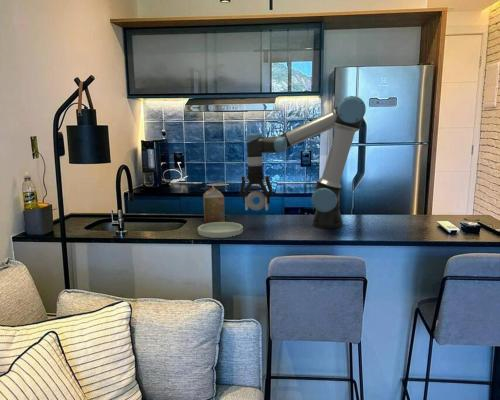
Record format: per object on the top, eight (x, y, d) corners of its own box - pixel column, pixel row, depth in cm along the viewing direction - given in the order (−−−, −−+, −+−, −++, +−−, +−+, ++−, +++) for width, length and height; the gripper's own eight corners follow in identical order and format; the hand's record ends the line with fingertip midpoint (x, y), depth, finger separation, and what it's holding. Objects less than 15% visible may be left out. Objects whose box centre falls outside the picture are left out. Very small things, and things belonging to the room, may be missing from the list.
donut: (266, 209, 214) (266, 189, 212) (267, 210, 211) (266, 190, 209) (246, 210, 214) (246, 190, 212) (246, 211, 211) (245, 191, 209)
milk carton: (224, 222, 228) (223, 187, 225) (205, 223, 226) (203, 188, 223) (223, 218, 238) (222, 184, 235) (204, 219, 237) (202, 185, 233)
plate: (248, 227, 215) (247, 223, 215) (234, 239, 195) (234, 233, 194) (208, 225, 221) (208, 221, 221) (191, 236, 201) (190, 231, 201)
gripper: (279, 164, 209) (280, 208, 212) (236, 164, 215) (238, 208, 219) (275, 165, 202) (276, 211, 205) (231, 166, 208) (233, 210, 212)
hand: (256, 209), depth 212 cm, fingers closed on donut, 10 cm apart
